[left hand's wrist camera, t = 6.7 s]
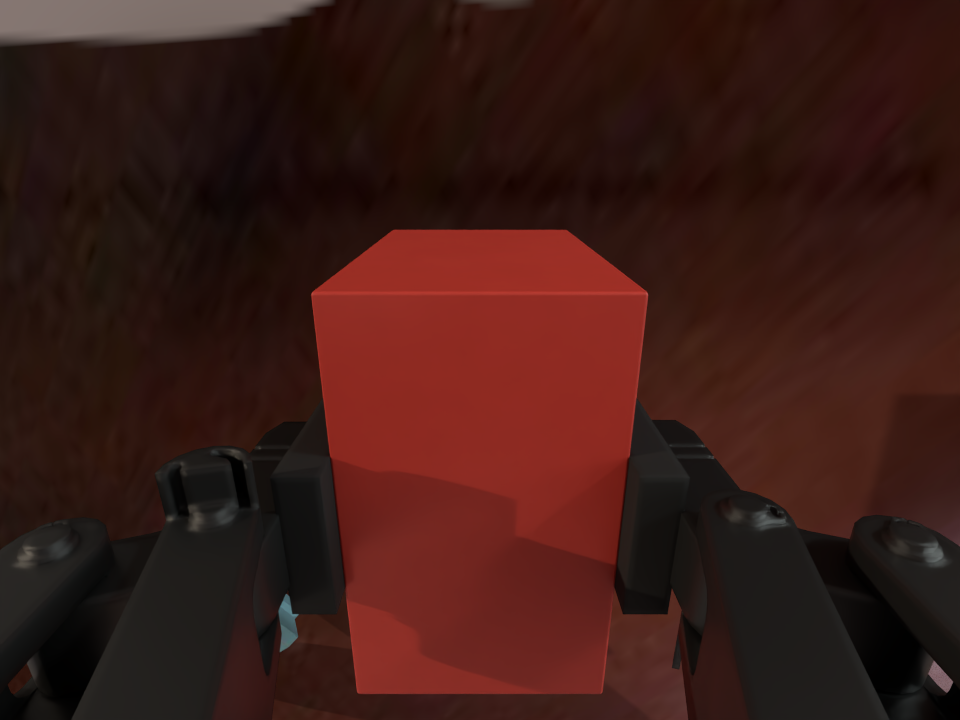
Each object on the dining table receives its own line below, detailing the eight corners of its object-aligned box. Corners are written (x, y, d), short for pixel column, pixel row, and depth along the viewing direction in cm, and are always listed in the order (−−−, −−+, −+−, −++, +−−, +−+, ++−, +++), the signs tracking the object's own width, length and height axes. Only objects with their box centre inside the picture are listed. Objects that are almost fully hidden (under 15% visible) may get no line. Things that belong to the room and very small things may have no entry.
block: (553, 479, 17) (602, 695, 10) (406, 479, 17) (356, 695, 10) (567, 229, 15) (650, 291, 8) (392, 229, 15) (309, 291, 8)
